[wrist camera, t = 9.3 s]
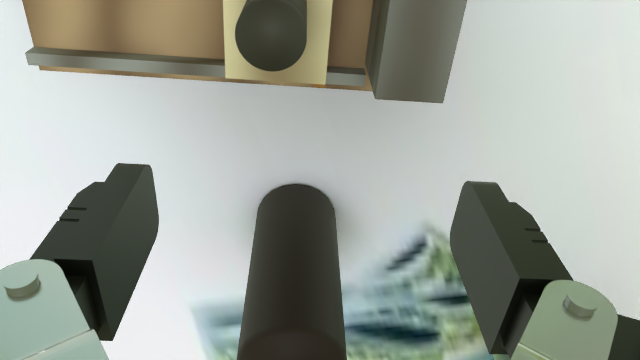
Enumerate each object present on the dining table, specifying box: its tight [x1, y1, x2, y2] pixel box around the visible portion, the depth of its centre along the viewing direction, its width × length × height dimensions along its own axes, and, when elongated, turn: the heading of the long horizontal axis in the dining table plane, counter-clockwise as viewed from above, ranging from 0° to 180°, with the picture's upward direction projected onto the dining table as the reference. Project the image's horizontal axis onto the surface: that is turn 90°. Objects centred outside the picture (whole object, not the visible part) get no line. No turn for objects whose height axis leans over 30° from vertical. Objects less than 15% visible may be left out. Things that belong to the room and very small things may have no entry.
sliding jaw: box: [223, 0, 333, 85], centre depth 26 cm, size 6×9×10 cm, turn 176°
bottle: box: [237, 185, 347, 360], centre depth 33 cm, size 7×7×20 cm
